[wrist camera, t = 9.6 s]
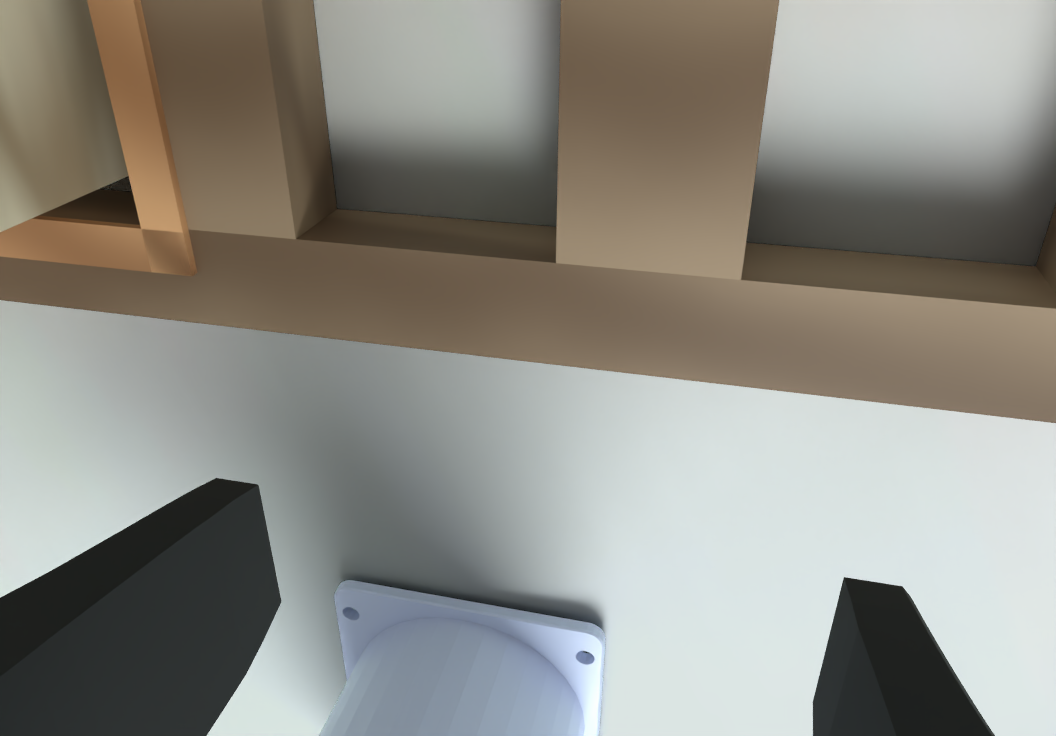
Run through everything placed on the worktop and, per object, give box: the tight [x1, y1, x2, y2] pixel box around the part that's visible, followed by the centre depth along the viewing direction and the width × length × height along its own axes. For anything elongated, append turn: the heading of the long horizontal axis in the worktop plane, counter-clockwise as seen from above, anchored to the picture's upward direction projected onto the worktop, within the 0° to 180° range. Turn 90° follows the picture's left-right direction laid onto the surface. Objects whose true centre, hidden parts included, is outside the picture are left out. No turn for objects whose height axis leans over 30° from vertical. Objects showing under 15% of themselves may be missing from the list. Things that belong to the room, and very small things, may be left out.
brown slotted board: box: [0, 0, 1056, 423], centre depth 16 cm, size 10×30×2 cm, turn 90°
